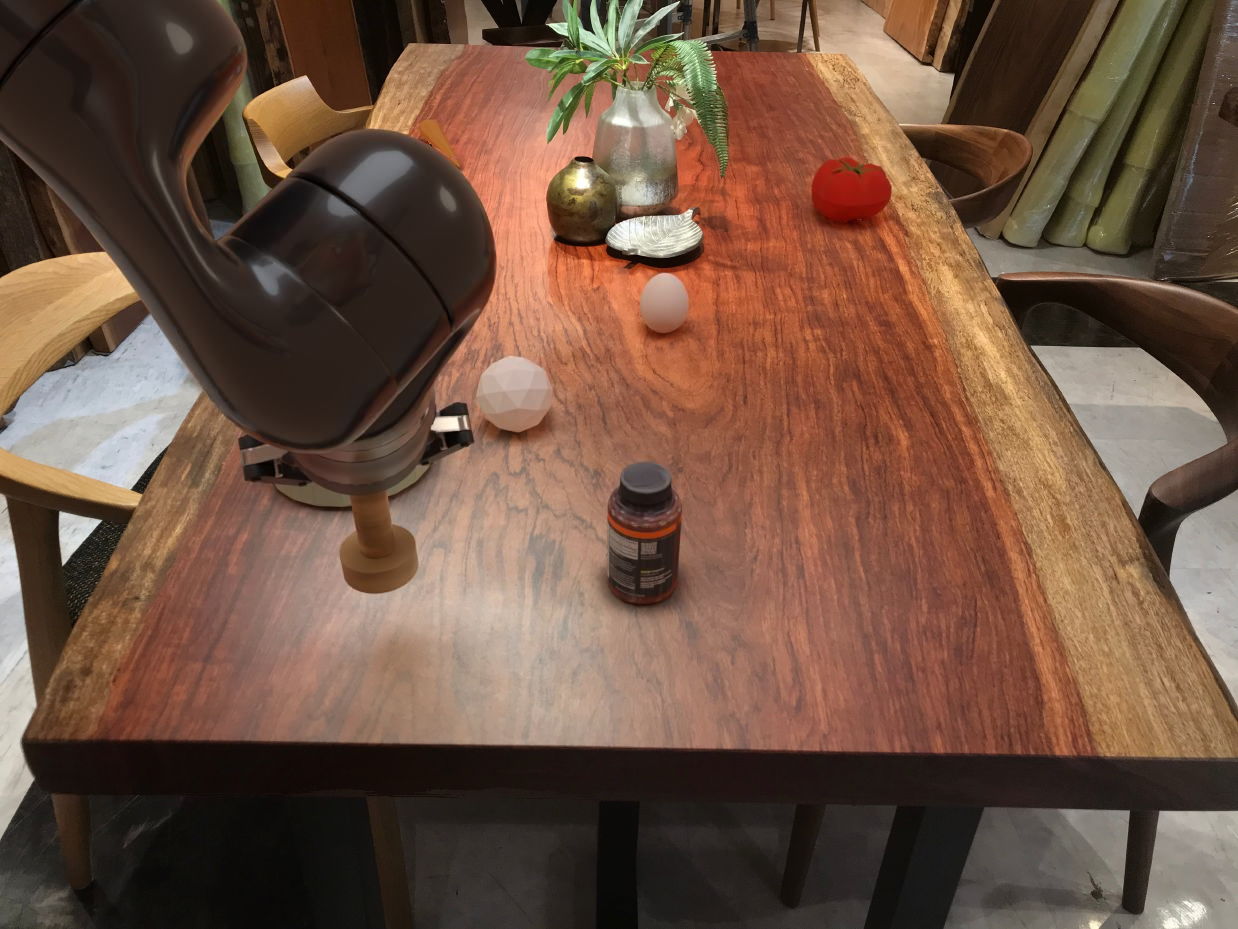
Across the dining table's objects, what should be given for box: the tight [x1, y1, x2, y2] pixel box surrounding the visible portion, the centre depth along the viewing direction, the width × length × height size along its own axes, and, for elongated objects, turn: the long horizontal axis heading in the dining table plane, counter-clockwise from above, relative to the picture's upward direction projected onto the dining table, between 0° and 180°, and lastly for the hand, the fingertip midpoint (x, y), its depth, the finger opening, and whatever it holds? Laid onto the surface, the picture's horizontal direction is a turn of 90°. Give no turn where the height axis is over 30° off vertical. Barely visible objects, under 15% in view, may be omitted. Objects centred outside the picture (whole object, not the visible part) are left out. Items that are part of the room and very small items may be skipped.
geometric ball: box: [475, 355, 554, 433], centre depth 92 cm, size 8×8×8 cm
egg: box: [639, 272, 690, 334], centre depth 110 cm, size 6×6×8 cm
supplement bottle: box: [606, 461, 683, 605], centre depth 72 cm, size 6×6×11 cm
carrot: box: [418, 118, 461, 169], centre depth 166 cm, size 20×4×4 cm, turn 26°
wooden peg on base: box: [338, 490, 419, 595], centre depth 60 cm, size 5×5×12 cm
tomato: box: [810, 157, 893, 223], centre depth 143 cm, size 14×13×9 cm
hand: (363, 467), depth 61 cm, fingers closed on wooden peg on base, 2 cm apart
